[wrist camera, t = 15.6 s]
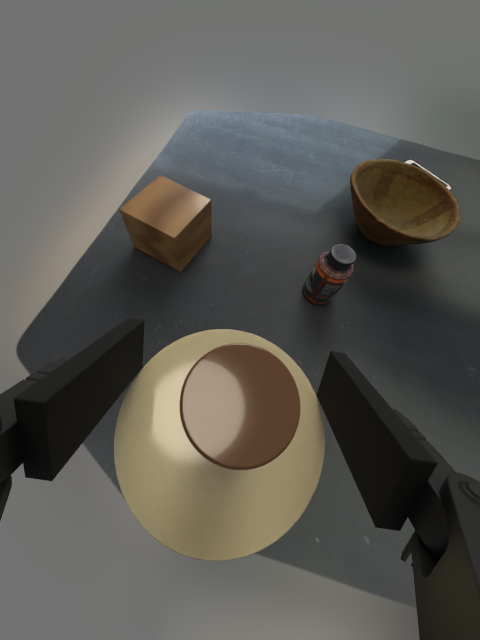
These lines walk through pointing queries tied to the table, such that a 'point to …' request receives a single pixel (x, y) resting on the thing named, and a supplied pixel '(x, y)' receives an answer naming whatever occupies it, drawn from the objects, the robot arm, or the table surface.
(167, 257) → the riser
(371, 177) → the bowl
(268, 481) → the lid
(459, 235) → the table surface
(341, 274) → the supplement bottle
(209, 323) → the table surface
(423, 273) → the table surface
